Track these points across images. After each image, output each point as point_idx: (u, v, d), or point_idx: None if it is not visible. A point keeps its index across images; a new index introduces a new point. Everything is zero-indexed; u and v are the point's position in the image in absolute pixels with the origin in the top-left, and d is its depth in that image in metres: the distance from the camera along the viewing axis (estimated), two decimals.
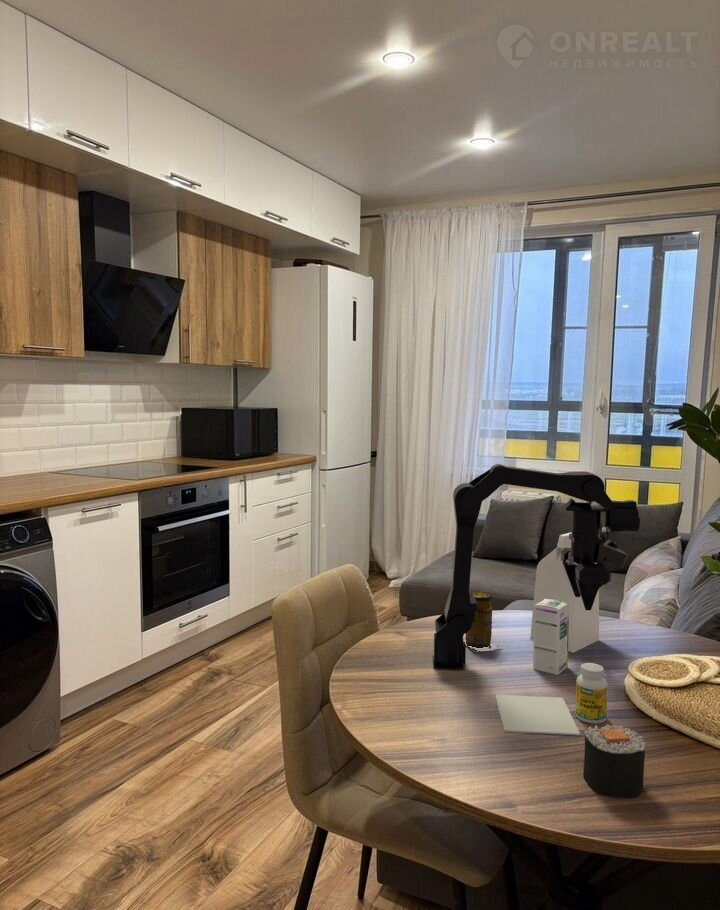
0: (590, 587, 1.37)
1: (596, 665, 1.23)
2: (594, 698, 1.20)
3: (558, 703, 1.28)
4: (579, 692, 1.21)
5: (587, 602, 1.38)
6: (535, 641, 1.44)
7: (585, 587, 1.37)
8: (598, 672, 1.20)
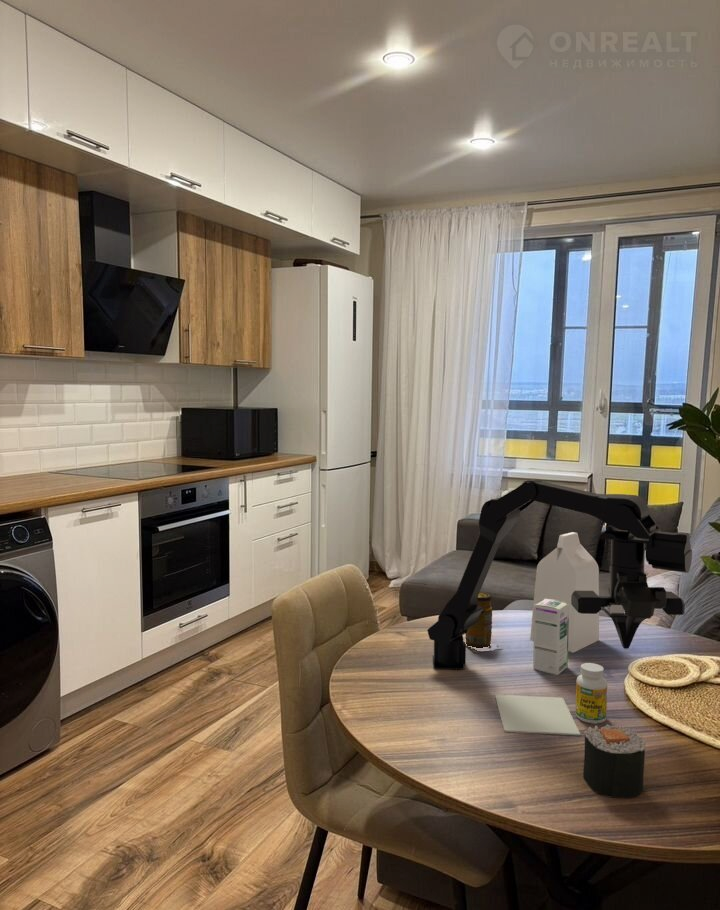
0: None
1: (596, 665, 1.23)
2: (594, 698, 1.20)
3: (558, 703, 1.28)
4: (579, 692, 1.21)
5: (619, 637, 1.23)
6: (535, 641, 1.44)
7: (615, 618, 1.24)
8: (598, 672, 1.20)
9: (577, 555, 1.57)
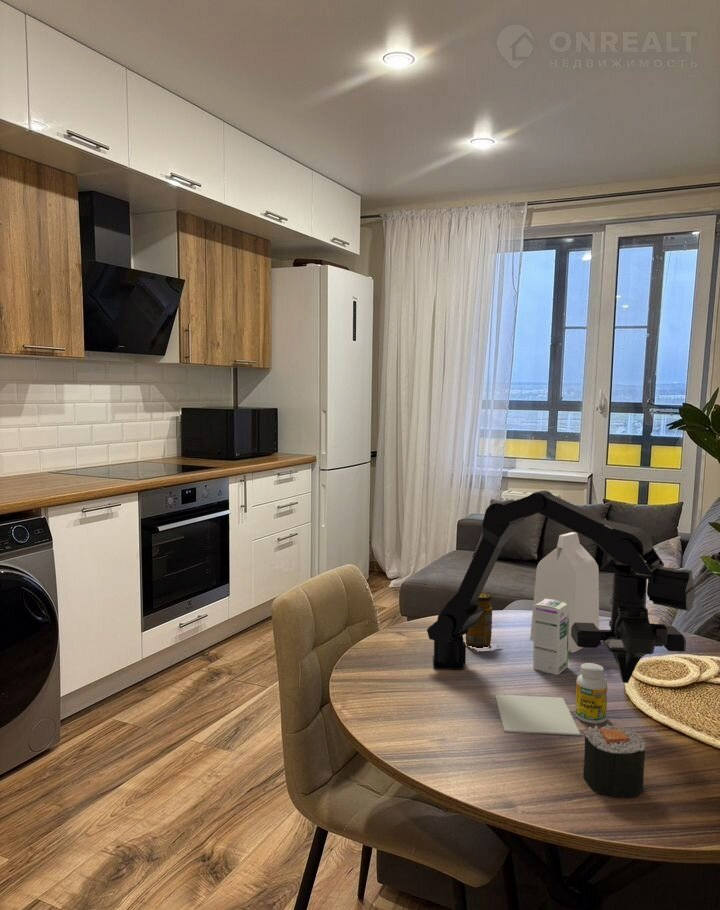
0: None
1: (596, 665, 1.23)
2: (594, 698, 1.20)
3: (558, 703, 1.28)
4: (579, 692, 1.21)
5: (619, 671, 1.22)
6: (535, 641, 1.44)
7: None
8: (598, 672, 1.20)
9: (577, 555, 1.57)
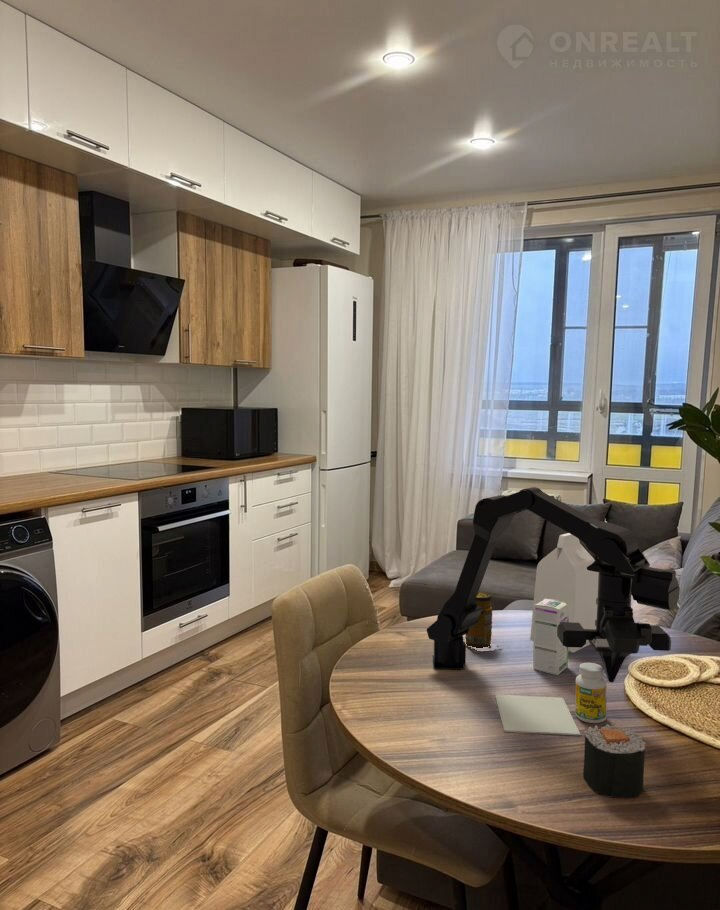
0: None
1: (595, 664, 1.23)
2: (593, 698, 1.20)
3: (558, 703, 1.28)
4: (578, 692, 1.21)
5: (605, 670, 1.22)
6: (535, 641, 1.44)
7: None
8: (597, 671, 1.20)
9: (577, 555, 1.57)
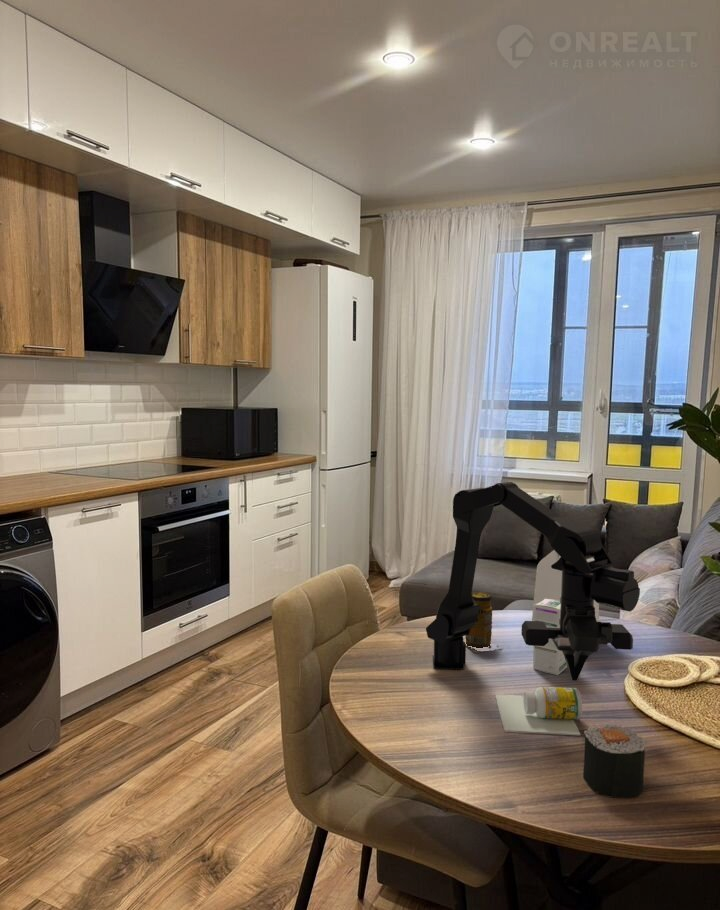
0: None
1: (525, 694, 1.22)
2: (554, 715, 1.20)
3: None
4: None
5: (568, 669, 1.23)
6: None
7: None
8: (528, 707, 1.20)
9: None
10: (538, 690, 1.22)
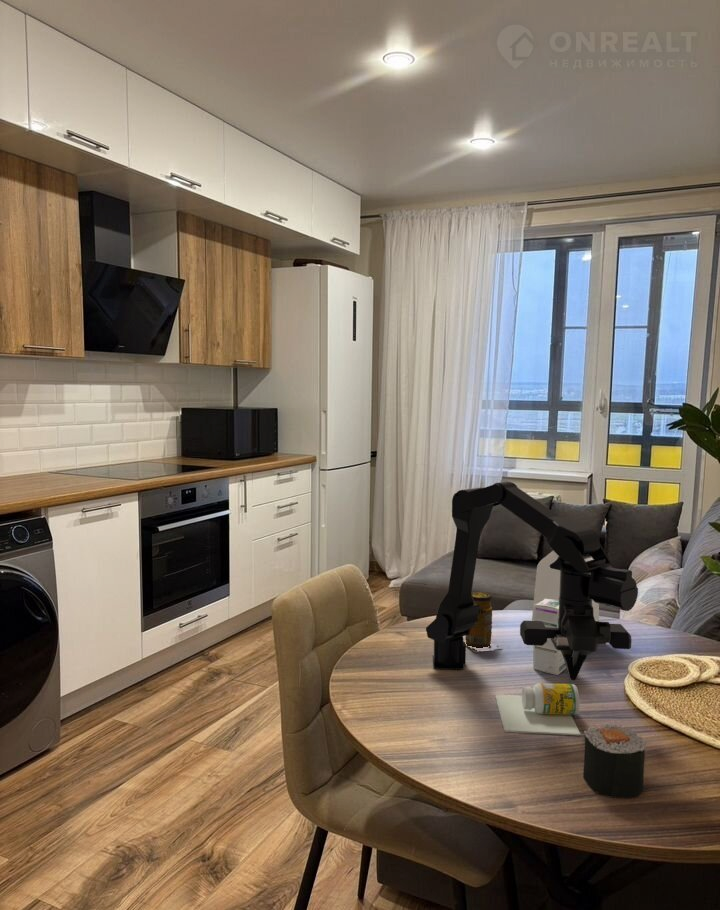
0: None
1: (522, 691, 1.25)
2: (553, 702, 1.21)
3: None
4: (549, 713, 1.22)
5: (567, 668, 1.23)
6: None
7: None
8: (526, 696, 1.22)
9: None
10: (534, 685, 1.25)
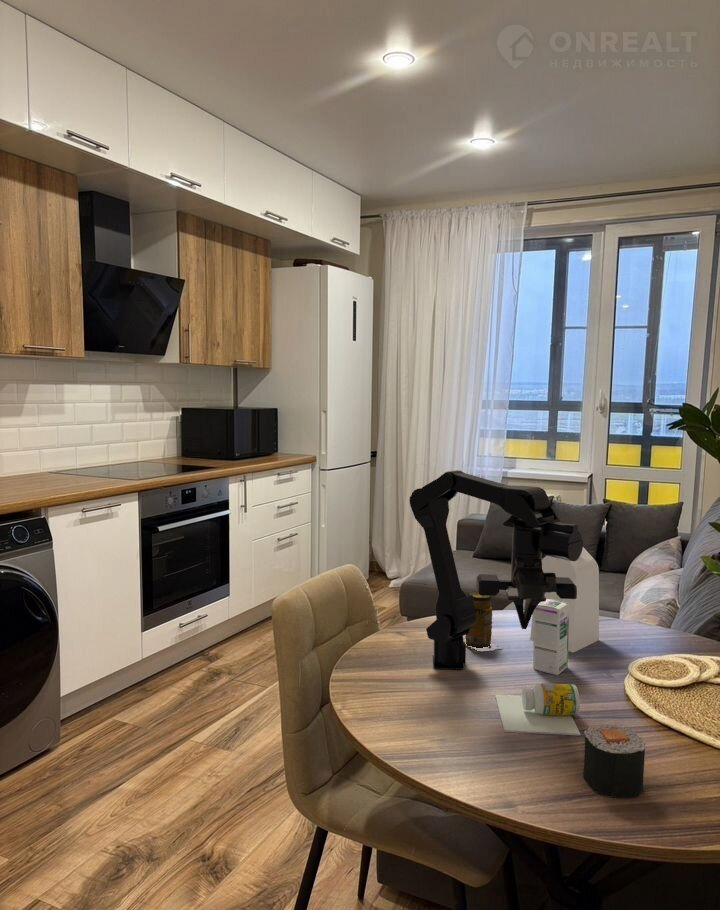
0: None
1: (522, 692, 1.25)
2: (553, 704, 1.21)
3: None
4: (549, 714, 1.22)
5: (519, 618, 1.33)
6: (535, 641, 1.44)
7: None
8: (526, 697, 1.22)
9: None
10: (535, 685, 1.25)
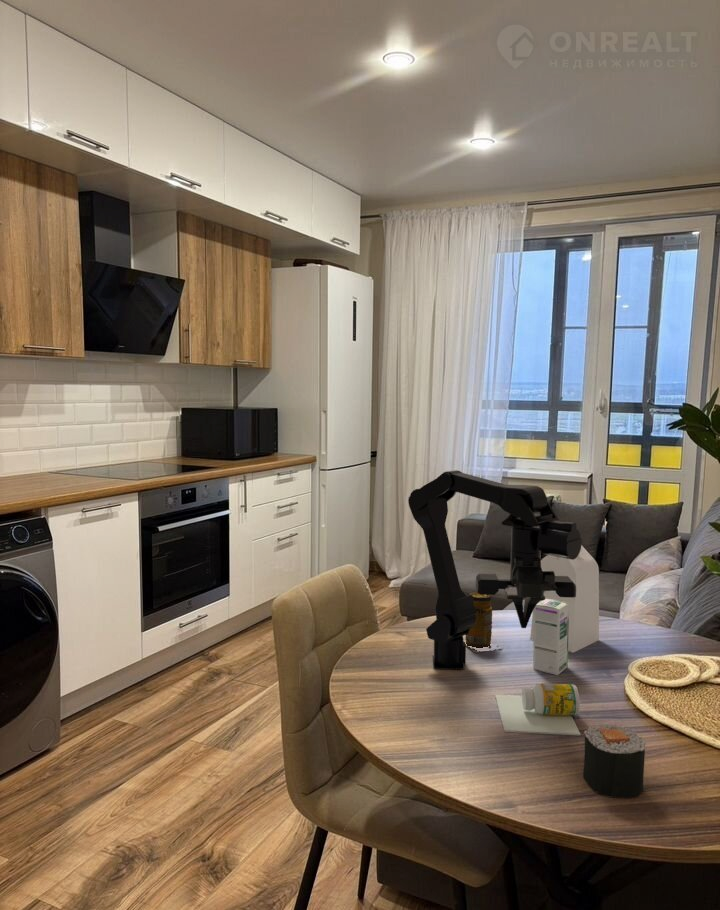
0: None
1: (522, 692, 1.25)
2: (553, 704, 1.21)
3: None
4: (549, 714, 1.22)
5: (518, 617, 1.33)
6: (535, 641, 1.44)
7: None
8: (526, 697, 1.22)
9: None
10: (535, 685, 1.25)
